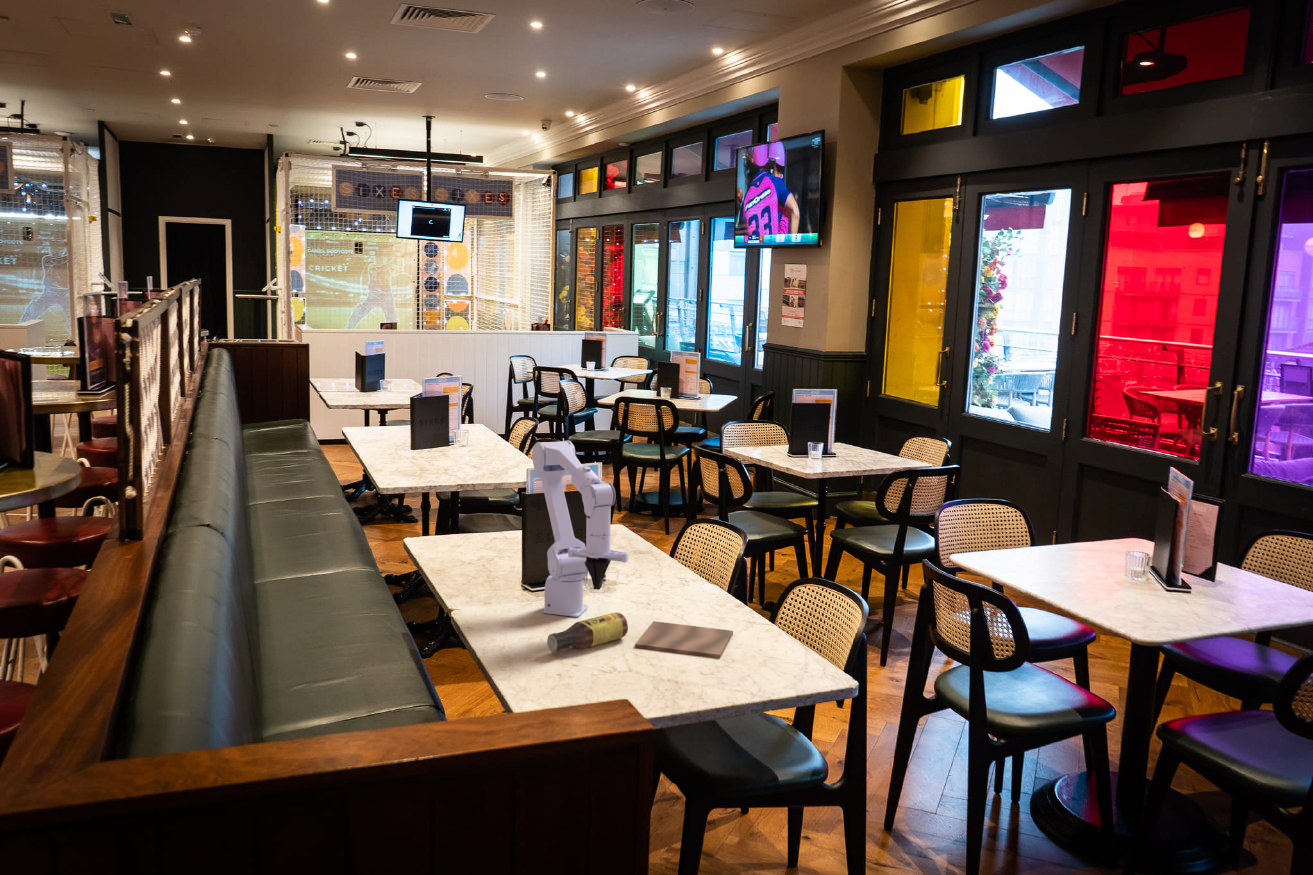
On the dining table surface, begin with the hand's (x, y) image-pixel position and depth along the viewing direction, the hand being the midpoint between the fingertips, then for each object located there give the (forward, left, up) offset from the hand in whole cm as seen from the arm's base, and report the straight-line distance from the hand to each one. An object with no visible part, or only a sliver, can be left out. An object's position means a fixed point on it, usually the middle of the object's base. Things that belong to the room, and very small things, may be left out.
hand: (597, 588), depth 225 cm
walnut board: (+22, 0, -10) cm, 24 cm away
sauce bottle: (+7, -2, -8) cm, 10 cm away
